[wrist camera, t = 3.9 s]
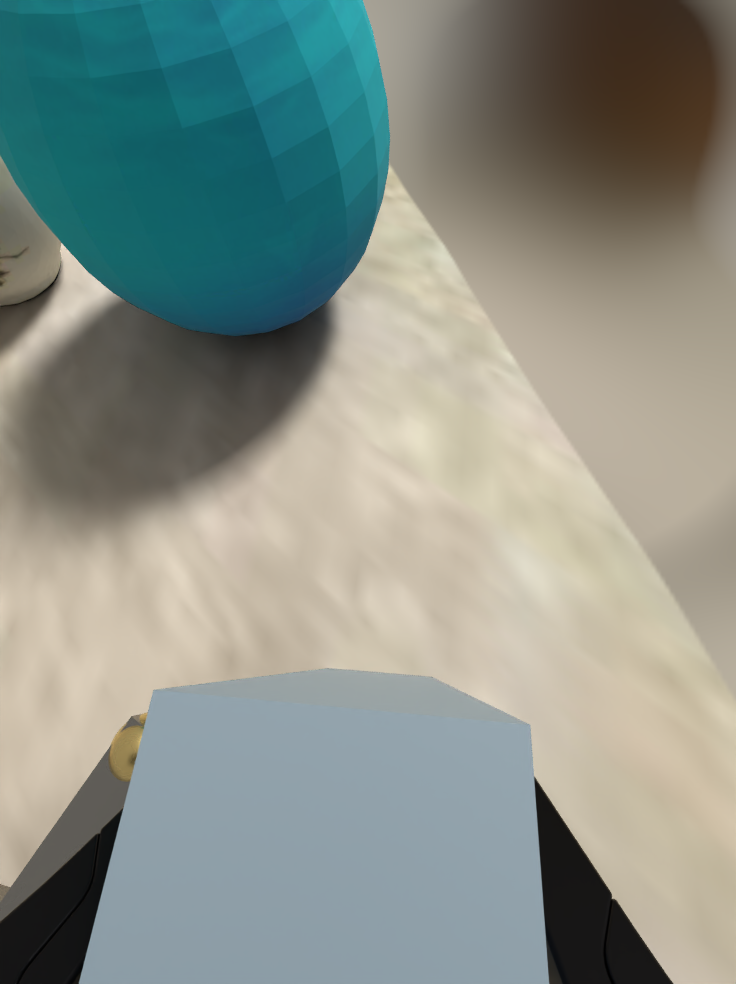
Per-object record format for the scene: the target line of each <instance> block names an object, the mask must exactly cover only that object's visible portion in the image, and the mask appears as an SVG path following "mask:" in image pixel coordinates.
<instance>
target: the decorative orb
mask: <svg viewBox="0 0 736 984" xmlns="http://www.w3.org/2000/svg"><path fill="white" fill-rule="evenodd" d="M389 145H390V132H389V119H388V106H387V97H386V93H385V88H384V83H383V78H382V73H381V68H380V63H379V58H378V54H377V49H376V44H375V40H374V35H373V31H372V27H371V24H370V21H369V18H368V15H367V12H366V9H365V6H364V3H363V0H0V156H1V158H2V159H3V161H4V163H5V165H6V167H7V169H8V170H9V172H10V174H11V176H12V178H13V180H14V182H15V183H16V185H17V186H18V188H19V189H20V190H21V192H22V193H23V195H24V196H25V197H26V199H27V200H28V202H29V203H30V205H31V206H32V207H33V209H34V210H35V212H36V213H37V214H38V216H39V217H40V218H41V220H42V221H43V222H44V223H45V224H46V225H47V226H48V228H49V229H50V230H51V231H52V232H53V233H54V235H55V236H56V237H57V238H58V239H59V240H60V241H61V243H62V244H63V245H64V246H65V247H66V248H67V249H68V250H69V251H70V253H71V254H72V255H73V256H74V257H75V258H76V259H77V260H78V261H79V262H80V263H81V265H82V266H83V267H84V268H85V269H86V270H87V271H88V272H89V273H90V274H91V275H92V276H94V277H95V278H96V279H97V280H98V281H100V282H101V283H102V284H103V285H104V286H106V287H107V288H108V289H109V290H110V291H112V292H113V293H114V294H116V295H118V296H119V297H121V298H123V299H124V300H126V301H128V302H129V303H131V304H132V305H134V306H136V307H138V308H140V309H142V310H144V311H146V312H148V313H151V314H153V315H155V316H157V317H159V318H162V319H164V320H166V321H168V322H170V323H173V324H175V325H178V326H180V327H183V328H185V329H188V330H193V331H200V332H206V333H214V334H222V335H230V336H241V335H249V334H257V333H265V332H270V331H273V330H275V329H278V328H281V327H283V326H286V325H289V324H292V323H294V322H297V321H300V320H301V319H303V318H304V317H306V316H307V315H309V314H310V313H311V312H313V311H314V310H316V309H317V308H319V307H320V306H322V305H323V304H325V303H326V302H327V301H328V300H329V299H330V298H331V297H332V296H333V295H334V294H335V293H336V291H337V290H338V289H339V288H340V287H341V285H342V284H343V283H344V282H345V280H346V279H347V278H348V277H349V275H350V274H351V273H352V272H353V271H354V269H355V268H356V266H357V264H358V263H359V261H360V259H361V258H362V256H363V254H364V253H365V250H366V247H367V245H368V242H369V239H370V236H371V233H372V231H373V227H374V224H375V221H376V218H377V215H378V212H379V209H380V206H381V203H382V200H383V195H384V190H385V184H386V179H387V174H388V165H389Z"/></svg>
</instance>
